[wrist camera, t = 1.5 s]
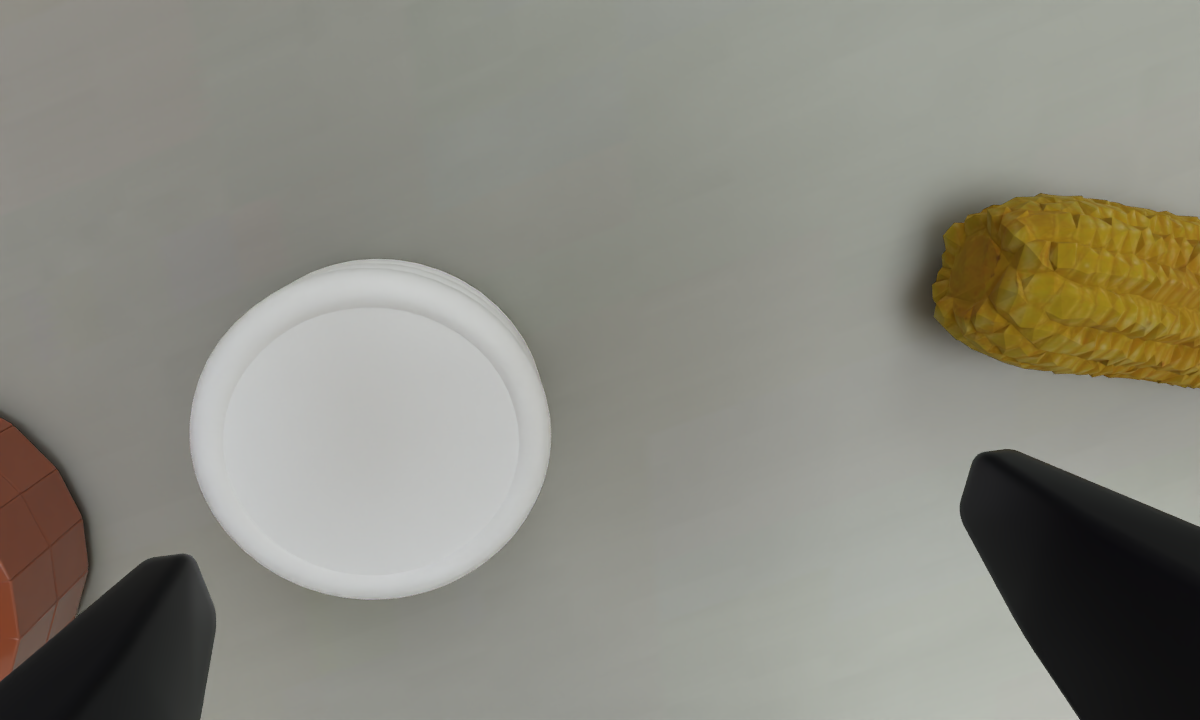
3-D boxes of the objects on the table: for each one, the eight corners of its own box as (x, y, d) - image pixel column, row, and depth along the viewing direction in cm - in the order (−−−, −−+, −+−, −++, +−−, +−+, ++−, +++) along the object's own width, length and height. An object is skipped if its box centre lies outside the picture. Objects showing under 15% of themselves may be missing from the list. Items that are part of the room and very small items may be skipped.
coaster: (153, 389, 22) (95, 426, 19) (408, 191, 22) (396, 193, 19) (372, 603, 25) (357, 669, 22) (600, 429, 25) (619, 469, 22)
